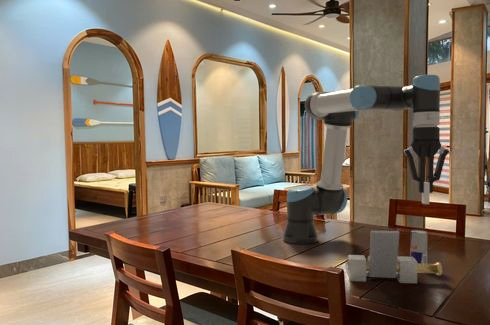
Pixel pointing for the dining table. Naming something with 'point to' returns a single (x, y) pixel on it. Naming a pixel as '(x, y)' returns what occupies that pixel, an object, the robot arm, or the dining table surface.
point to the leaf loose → (383, 254)
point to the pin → (421, 268)
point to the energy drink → (418, 246)
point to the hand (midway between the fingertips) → (425, 203)
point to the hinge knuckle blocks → (406, 274)
